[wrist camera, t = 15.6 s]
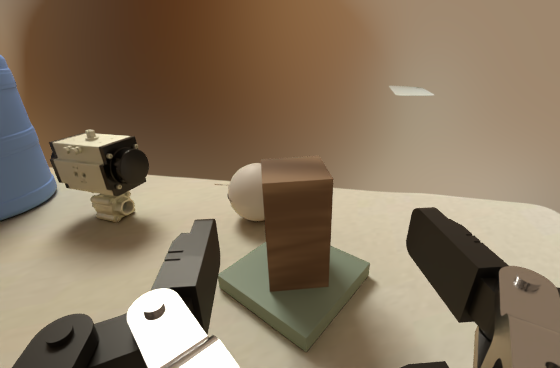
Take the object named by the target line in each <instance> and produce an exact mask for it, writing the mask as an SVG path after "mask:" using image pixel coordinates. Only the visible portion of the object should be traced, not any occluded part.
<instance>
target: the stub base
mask: <svg viewBox="0 0 560 368" xmlns="http://www.w3.org/2000/svg"><path fill="white" fill-rule="evenodd" d="M369 267H370V263H368V262H366V261H364V260H362V259H359V258H357V257H355V256H353V255H350V254H348V253H346V252H344V251H341V250H339V249H337V248H334V247H332V246H330V265H329V287H320V288H309V289H297V290H286V291H274V292H270V288H269V275H268V261H267V247H266V242H265V243H263V244H262V245H260V246H259V247H257V248H256V249H255V250H253V251H252V252H250V253H249V254H247V255H246V256H244V257H243V258H241V259H240V260H239V261H237V262H236V263H234V264H233V265H231V266H230V267H228V268H227V269H225V270H224V271H223V272H221V273H220V274H218V281H219V287H220V288H221V289H222V290H224V291H225V292H226V293H228V294H229V295H230V296H232V297H233V298H234V299H236V300H237V301H238V302H240V303H241V304H242V305H244V306H245V307H246V308H248V309H249V310H250V311H252V312H253V313H254V314H256V315H257V316H258V317H260V318H261V319H262V320H264V321H265V322H266V323H268V324H269V325H270V326H272V327H273V328H274V329H276V330H277V331H278V332H280V333H281V334H282V335H284V336H285V337H286V338H288V339H289V340H290V341H292V342H293V343H294V344H296V345H297V346H298V347H300V348H301V349H302V350H304V351H305V352H307V351H308V350H309V348H310V347H311V346H312V345H313V343H314V342H315V341H316V340H317V339H318V337H319V336H320V335H321V334H322V332H323V331H324V330H325V329H326V327H327V326H328V325H329V324H330V322H331V321H332V320H333V319H334V318H335V316H336V315H337V314H338V313H339V311H340V310H341V309H342V308H343V306H344V305H345V304H346V303H347V301H348V300H349V299H350V298H351V297H352V295H353V294H354V293H355V292H356V290H357V289H358V288H359V287H360V285H361V284H362V283H363V282H364V280H365V279H366V278H367V277H368V275H369Z"/></svg>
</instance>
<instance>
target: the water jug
mask: <svg viewBox="0 0 560 368" xmlns="http://www.w3.org/2000/svg"><path fill="white" fill-rule="evenodd" d="M38 141H39V140H38V137H37V134H36V132H35V129H34V127H33V126H32V125H31V123H30V120H29V118H28V115H27V113H26V110H25V108H24V105H23V103H22V101H21V98H20V95H19V93H18V91H17V88H16V82H15V80H14V77H13V75H12V73H11V71H10V69H9V68H8V66H7V64H6V61H5V59H4V58H3V57H2V56H1V55H0V221H1V220H4V219H7V218H10V217H13V216H15V215H18V214H21V213H23V212H25V211H28V210H30V209H32V208H34V207H36V206H38V205H40V204H41V203H43V202H45V201H46V200H47V199H49V198H50V197H51V196H52V195H53V194H54V193H55V191H56V188H57V184H56V181H55V179H54V176H53V175H52V174H51V172H50V169H49V167H48V164H47V162H46V160H45V157H44V155H43V152H42V150H41V147H40V145H39V142H38Z"/></svg>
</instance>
